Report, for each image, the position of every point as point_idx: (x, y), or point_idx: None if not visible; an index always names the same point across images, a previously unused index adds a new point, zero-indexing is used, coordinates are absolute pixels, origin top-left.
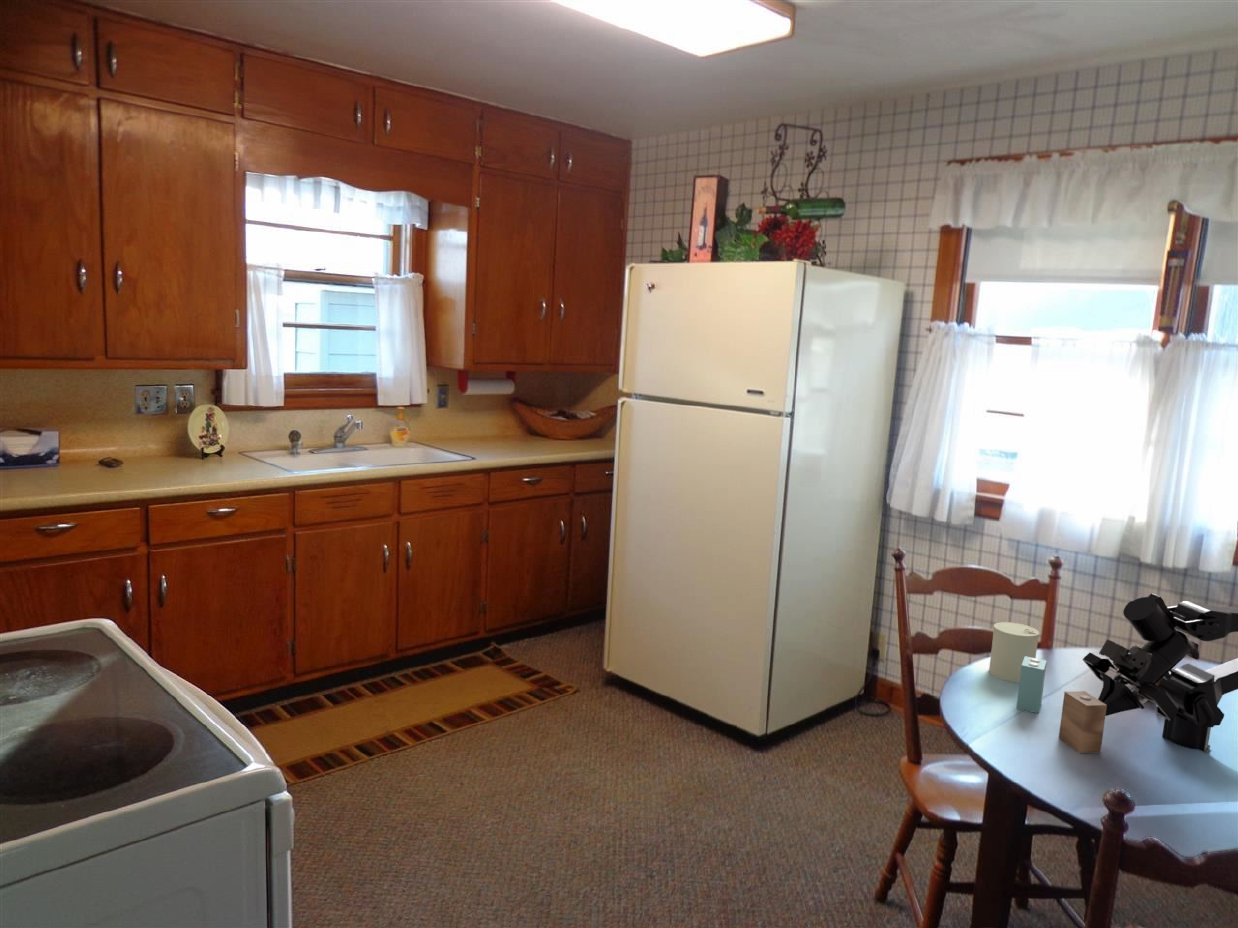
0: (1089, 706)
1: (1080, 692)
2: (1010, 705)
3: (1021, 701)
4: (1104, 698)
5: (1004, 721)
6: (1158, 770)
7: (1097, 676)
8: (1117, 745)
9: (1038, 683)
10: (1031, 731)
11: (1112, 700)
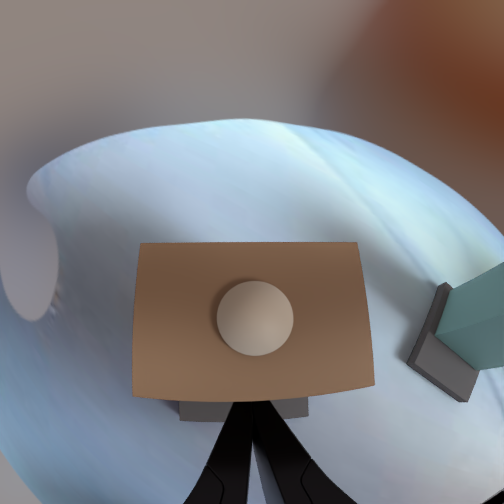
0: (139, 266)
1: (353, 345)
2: None
3: (461, 292)
4: (271, 471)
5: (400, 242)
6: (125, 480)
7: (487, 500)
8: None
9: (497, 306)
10: None
11: (197, 483)
